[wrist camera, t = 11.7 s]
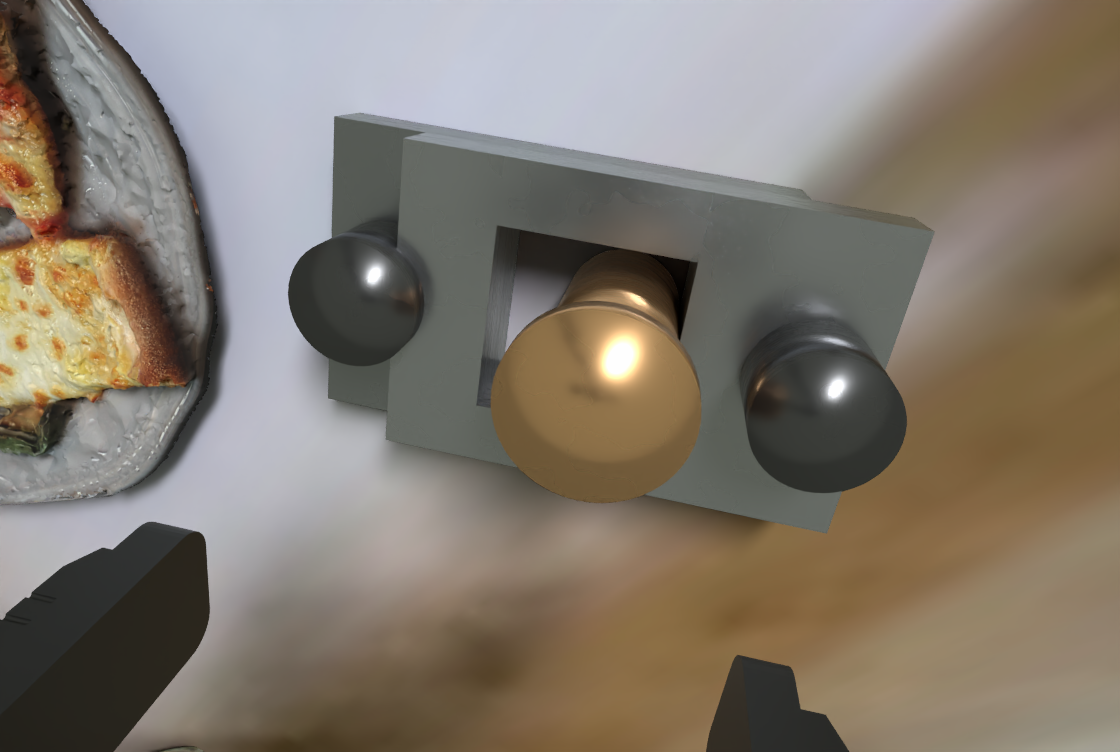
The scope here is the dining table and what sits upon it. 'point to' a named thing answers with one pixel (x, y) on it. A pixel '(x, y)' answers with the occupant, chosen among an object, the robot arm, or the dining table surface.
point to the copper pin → (601, 385)
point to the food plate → (92, 263)
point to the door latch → (635, 224)
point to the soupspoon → (184, 749)
